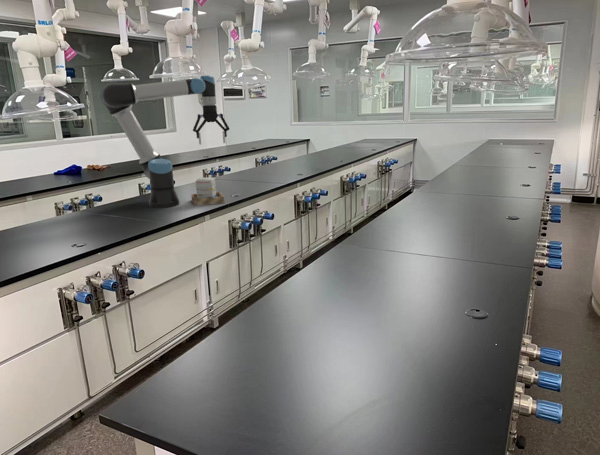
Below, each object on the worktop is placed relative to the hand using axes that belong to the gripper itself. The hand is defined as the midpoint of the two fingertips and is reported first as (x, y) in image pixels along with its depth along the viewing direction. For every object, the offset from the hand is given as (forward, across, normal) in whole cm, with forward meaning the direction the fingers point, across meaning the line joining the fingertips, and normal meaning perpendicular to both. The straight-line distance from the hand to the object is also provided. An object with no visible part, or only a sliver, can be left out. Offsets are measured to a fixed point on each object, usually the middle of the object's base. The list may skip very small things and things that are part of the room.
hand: (212, 143), depth 254 cm
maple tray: (+29, -8, -20) cm, 36 cm away
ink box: (+28, -8, -20) cm, 35 cm away
